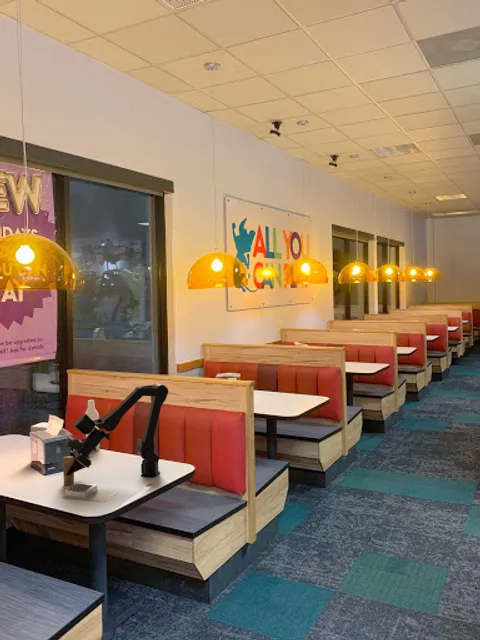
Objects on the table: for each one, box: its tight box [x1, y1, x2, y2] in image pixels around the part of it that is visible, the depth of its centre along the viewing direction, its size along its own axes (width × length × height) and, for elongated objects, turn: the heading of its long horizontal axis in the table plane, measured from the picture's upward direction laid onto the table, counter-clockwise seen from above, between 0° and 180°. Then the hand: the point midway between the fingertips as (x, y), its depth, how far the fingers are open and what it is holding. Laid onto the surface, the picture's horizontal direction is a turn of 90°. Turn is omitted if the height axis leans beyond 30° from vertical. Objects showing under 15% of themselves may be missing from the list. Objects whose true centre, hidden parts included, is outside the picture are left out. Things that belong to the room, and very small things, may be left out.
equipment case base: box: [61, 490, 118, 503], centre depth 215 cm, size 18×10×2 cm, turn 74°
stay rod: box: [62, 455, 75, 487], centre depth 227 cm, size 4×4×12 cm
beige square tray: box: [64, 482, 98, 499], centre depth 216 cm, size 9×9×2 cm
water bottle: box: [84, 399, 101, 451], centre depth 282 cm, size 7×7×25 cm
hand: (65, 472), depth 227 cm, fingers open, 7 cm apart
